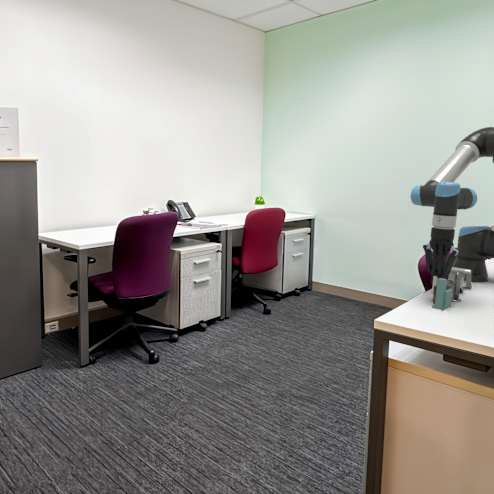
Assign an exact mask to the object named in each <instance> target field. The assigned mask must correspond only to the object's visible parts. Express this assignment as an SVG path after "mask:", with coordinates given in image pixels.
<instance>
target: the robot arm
mask: <svg viewBox="0 0 494 494" xmlns="http://www.w3.org/2000/svg"><path fill="white" fill-rule="evenodd" d="M486 157H487V158H492V163H493V164H494V126H486V127H482V128H479V129H477V130H475V131H473V132H471V133H470V134H468V135H467V136H466V137H464V138H463V139H462V140H461V141H460V142H458V144H457V145H456V146H455V151H454V152H452V154H451V155H450V156H449V158H448V159H447V160H445V162H444V163H443V164H442V165H441V166H440V167H439V168H438V169H437V170H436V171H435V173H434V174H433V175H432V176H431V177H430V178H429V180H427V182H426V183H425V184H424V185H421V184H420V185H416V186H414V187H413V188H412V189H411V192H410V201H411V203H412V204H413V205H415V206H421V207H428V208H429V207H430V208H433V212H432V221H431V229H430V240H429V241H428V242H429V243H427V244H423V245H422V248H423V250H424V255H425V256H424V257H425V265H426V272H427V273H429V274H430V275H431V279H430V284H431V285H432V288H431V295H433V292H434V286H437V280H438V279H439V278H442V279H444V277H447V276H448V275H449V274H450V272H451V269H452V267H455V268H462V269H468V270H471V282H472V283H474V282H475V283H476V282H477V283H478V282H479V283H483V282H488V280H489V273H488V268H487V265H486V258H488V259H489V258H491V259H494V224H493V225H492V226H491V227H490V226H487V225H472V226H470V225H469V226H462V227H461V228H459V232H458V236H457V238H458V239H457V247H456V248H455V246H454V240H455V235H456V234H455V232H456V230H455V228H456V224H457V216H458V210H465V211H466V210H469V209H471V208H473V207H474V206H475V205H476V204H477V202H478V195H477V192H476V191H475V190H474V189H473V188H469V187H461V184H460V183H459V182H456V180H457V179H458V178H459V177H460V176H461V175H462V173H464V171H465V170H466V169H467V168H468V167H469V166H470V164H472V163H474V162H476V161H477V160H478V159H480V158H486ZM464 282H466V275H465V278H464Z"/></svg>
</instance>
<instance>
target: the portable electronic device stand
mask: <svg viewBox="0 0 494 494" xmlns="http://www.w3.org/2000/svg"><path fill="white" fill-rule="evenodd" d="M454 271H459V272H462V274H461V283H460V287H461V288H462V289H463V288H465V287H466V288H467V289H473V283H474V282H472V281H471V270H468V269H462V268H455V267H453V266H452V269H451V272H450V274H449V275H448V278H447V279H448V280H452V281H453V280H454ZM465 275H466V281H464V278H465Z"/></svg>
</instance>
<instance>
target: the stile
mask: <svg viewBox="0 0 494 494" xmlns="http://www.w3.org/2000/svg"><path fill="white" fill-rule="evenodd" d="M447 280H448V278H443V279H442V278H439V279H438V280H437V289H436V299H435V304H434V305H431V308H432V309H437V310H441V311H445V310H447V309H448V308H450V307H452V301H451V300H452V291H453V290H452V289H448V290H446V285H447Z"/></svg>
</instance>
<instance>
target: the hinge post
mask: <svg viewBox="0 0 494 494" xmlns="http://www.w3.org/2000/svg"><path fill="white" fill-rule="evenodd" d="M461 274H462V272H459V271H454V280H453V284H456V285H455V289H454V298H453V300H451V302H452V303H453V302H454V303H461V301H462V300H461V299H460V293H459V292H460V283H461Z"/></svg>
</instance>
